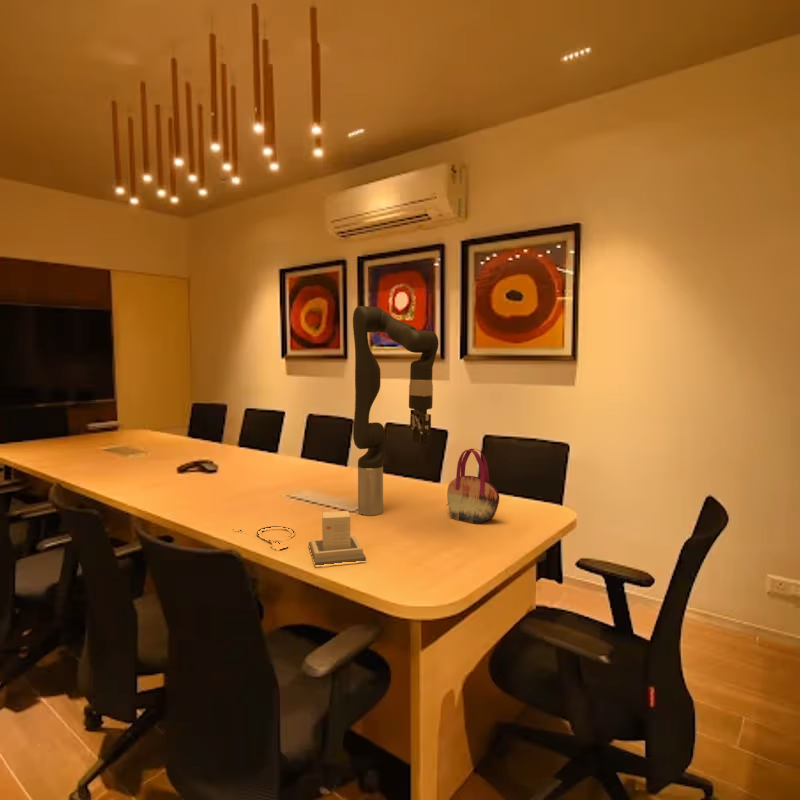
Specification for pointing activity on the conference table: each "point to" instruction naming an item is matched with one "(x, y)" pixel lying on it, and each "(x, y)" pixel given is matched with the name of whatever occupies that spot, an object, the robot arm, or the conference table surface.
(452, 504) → the handbag
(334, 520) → the small box
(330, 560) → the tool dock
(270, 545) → the conference table surface
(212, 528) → the conference table surface
